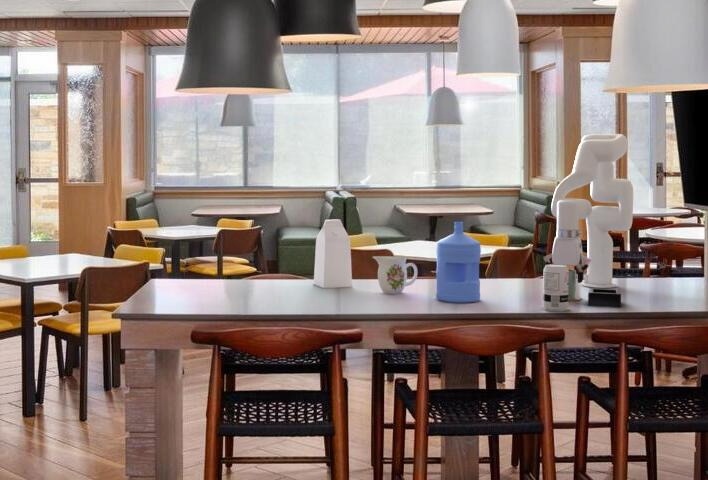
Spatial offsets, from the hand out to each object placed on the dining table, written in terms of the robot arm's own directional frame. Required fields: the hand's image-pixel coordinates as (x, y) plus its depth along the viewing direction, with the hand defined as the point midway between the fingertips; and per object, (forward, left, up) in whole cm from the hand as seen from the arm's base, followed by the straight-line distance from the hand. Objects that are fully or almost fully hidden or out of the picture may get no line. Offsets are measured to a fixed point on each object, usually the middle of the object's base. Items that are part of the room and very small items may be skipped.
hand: (566, 281), depth 351 cm
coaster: (0, 0, -6) cm, 6 cm away
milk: (-87, -21, -6) cm, 90 cm away
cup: (0, 0, -6) cm, 6 cm away
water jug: (-31, -25, -6) cm, 40 cm away
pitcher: (-58, -23, -6) cm, 63 cm away
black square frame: (+15, -4, -6) cm, 17 cm away
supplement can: (+5, -25, -6) cm, 26 cm away
